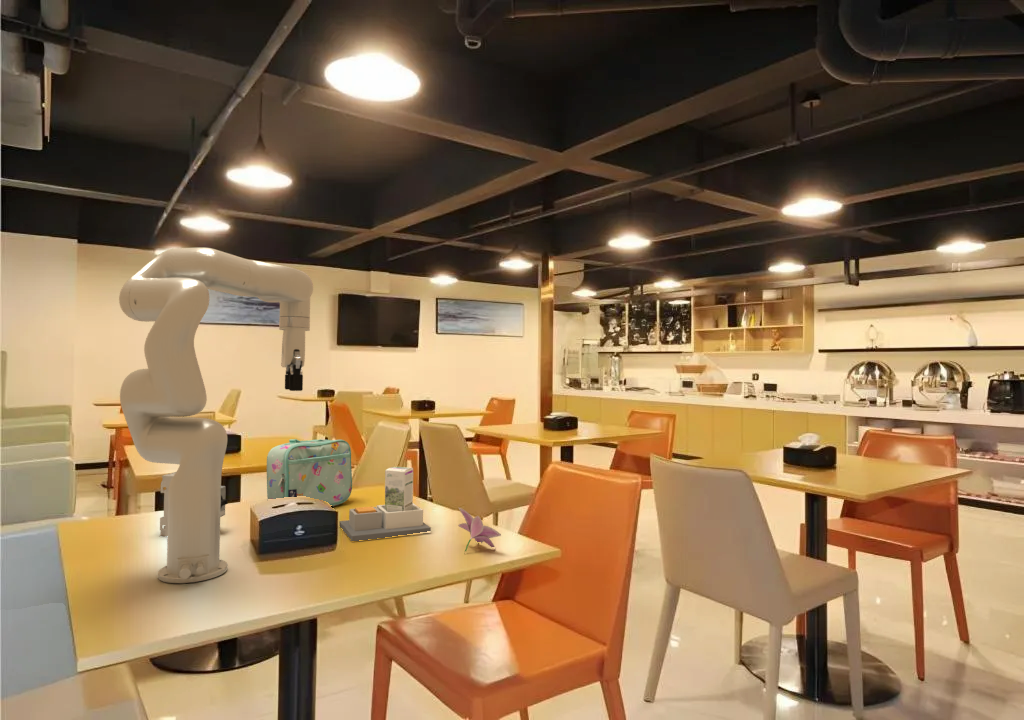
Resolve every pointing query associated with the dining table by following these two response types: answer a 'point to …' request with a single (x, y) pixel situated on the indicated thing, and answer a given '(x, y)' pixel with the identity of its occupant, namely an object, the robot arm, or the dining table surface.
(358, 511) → the button
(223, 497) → the circuit breaker
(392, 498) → the syrup box
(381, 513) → the grey compartment tray
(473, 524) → the lily
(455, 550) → the dining table surface
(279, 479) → the lunch box
